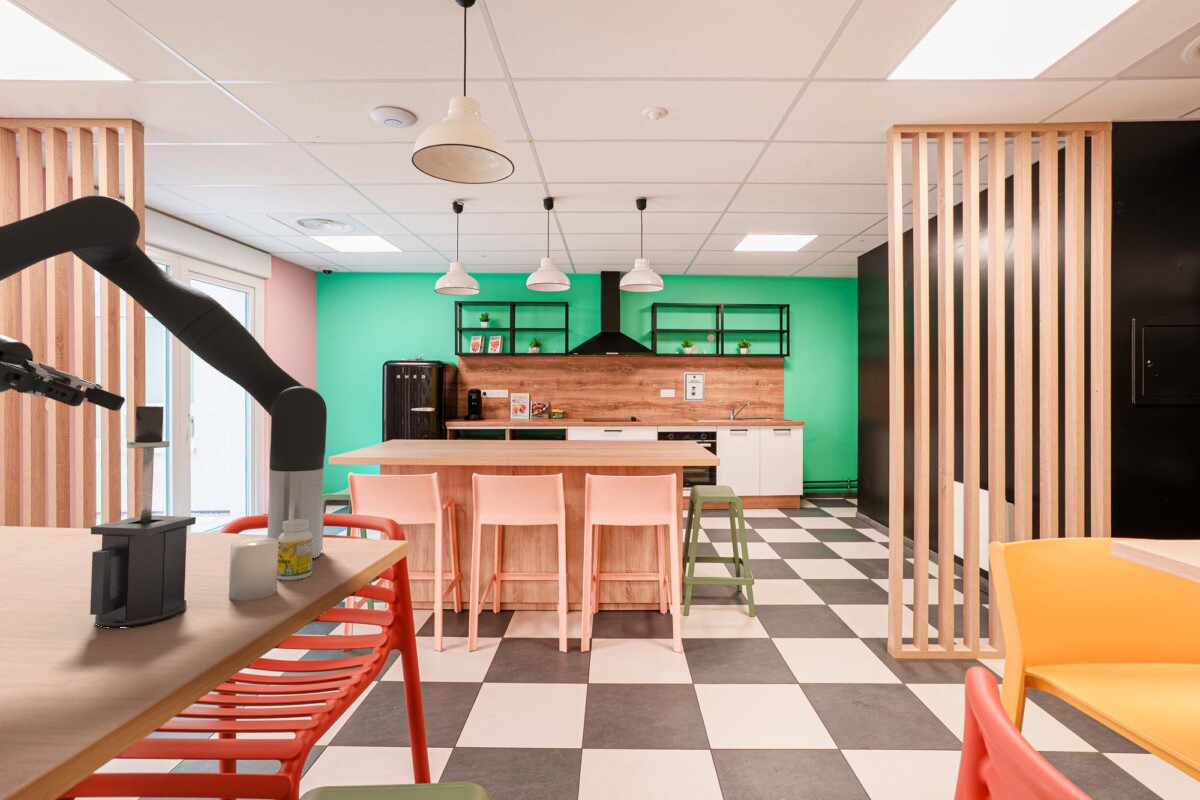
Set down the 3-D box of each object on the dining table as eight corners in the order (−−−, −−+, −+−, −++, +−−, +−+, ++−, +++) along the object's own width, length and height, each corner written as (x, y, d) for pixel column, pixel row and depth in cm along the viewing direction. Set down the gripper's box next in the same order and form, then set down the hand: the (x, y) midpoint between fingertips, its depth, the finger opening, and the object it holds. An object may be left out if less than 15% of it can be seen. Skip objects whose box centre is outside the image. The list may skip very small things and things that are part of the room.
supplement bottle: (318, 575, 96) (320, 520, 96) (288, 583, 92) (290, 525, 92) (300, 570, 99) (301, 516, 99) (269, 577, 94) (271, 521, 94)
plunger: (143, 551, 79) (148, 406, 80) (173, 552, 79) (178, 406, 80) (113, 559, 75) (119, 406, 75) (145, 561, 75) (151, 406, 75)
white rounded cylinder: (247, 586, 90) (249, 537, 90) (285, 587, 89) (287, 538, 90) (218, 599, 83) (220, 547, 84) (259, 601, 83) (260, 548, 83)
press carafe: (140, 600, 82) (143, 513, 82) (203, 603, 82) (206, 516, 82) (59, 632, 70) (63, 531, 71) (131, 636, 70) (135, 534, 70)
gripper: (-64, 316, 66) (82, 370, 69) (26, 339, 80) (145, 383, 83) (-100, 373, 65) (50, 425, 68) (-2, 386, 78) (119, 429, 82)
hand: (102, 402), depth 75 cm, fingers open, 8 cm apart
